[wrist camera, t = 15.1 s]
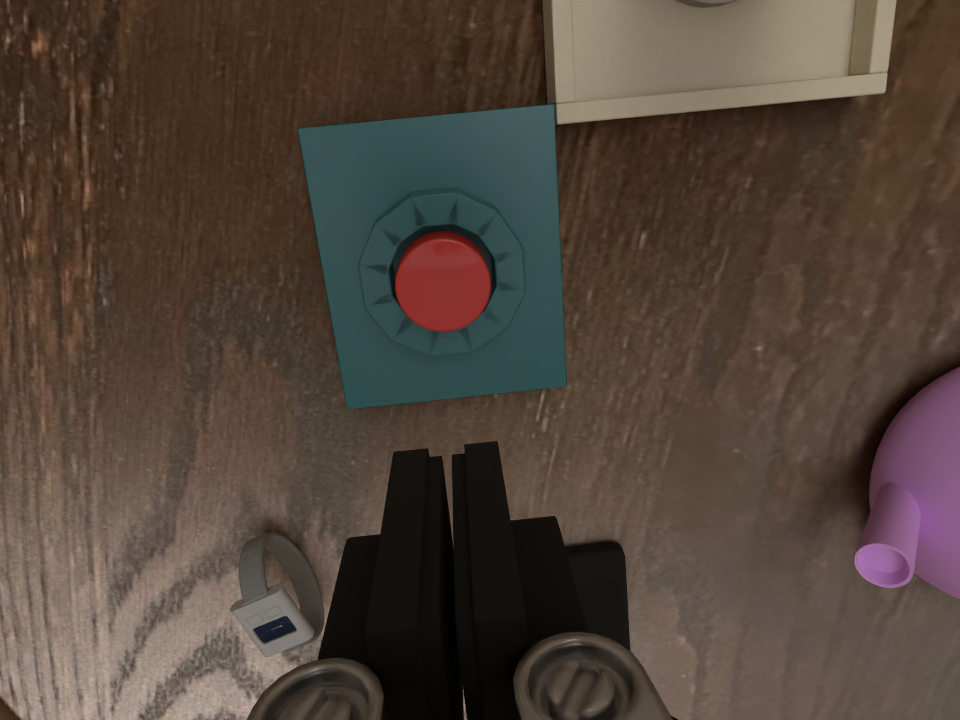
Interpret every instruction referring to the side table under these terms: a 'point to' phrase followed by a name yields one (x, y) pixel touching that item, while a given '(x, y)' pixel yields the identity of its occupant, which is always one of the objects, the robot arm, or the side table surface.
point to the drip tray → (710, 54)
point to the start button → (443, 281)
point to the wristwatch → (277, 597)
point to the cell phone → (602, 588)
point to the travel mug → (706, 2)
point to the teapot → (917, 494)
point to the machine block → (429, 208)
